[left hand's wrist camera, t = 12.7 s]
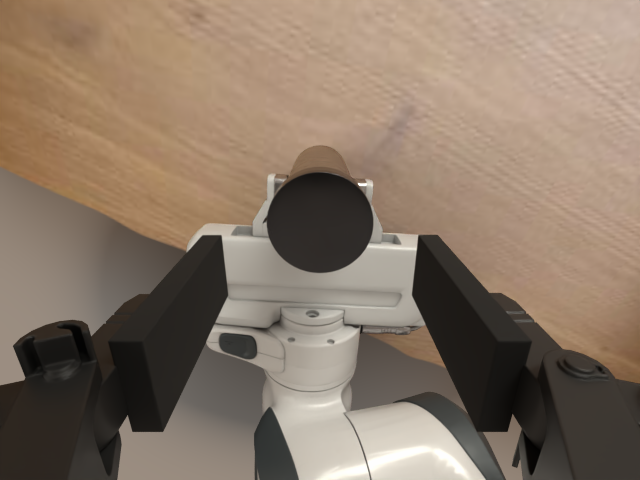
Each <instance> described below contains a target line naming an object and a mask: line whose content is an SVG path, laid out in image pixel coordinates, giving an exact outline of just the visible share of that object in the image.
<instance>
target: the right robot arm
mask: <svg viewBox="0 0 640 480" xmlns="http://www.w3.org/2000/svg"><path fill="white" fill-rule="evenodd" d="M288 177H289V175H283V174H269V175H268V179H267V199H266V200H265V202H264V203H263V205H262V207H261V208H260V210H259V212H258V213H257V215H256V217H255V218H254V220H253V225H234V224H217V223H208V224H205V225H204V226H203V227H201V228H200V229H199V230H198V231H197V232H196V233H195V234H194V235H193V237H192V238H191V239H190V241H189V242H188V245H187V252H188V251H189V250H190V248H191V247H192V246H193V245H194V244H195V243H196V242H197V241H198V239H199V238H200V237H201V236H202V235H222V243H223V251H224V260H225V269H226V278H227V287H228V297H227V299H226V301H225V303H224V305H223V307H222V310H221V312H220V314H219V316H218V318H217V320H216V322H215V324H214V326H213V328H212V330H211V333H210V335H209V337H208V339H207V341H206V343H207V345H208V347H209V348H210V349H212V350H214V351H216V352H219V353H223V354H226V355H229V356H232V357H236V358H239V359H242V360H244V361H247V362H250V363H252V364H255V365H257V366H259V367H261V368H263V369H264V372H265V375H266V380H265V383H264V387H263V392H262V409H263V416H262V418H261V420H260V422H259V424H258V426H257V429H256V431H255V433H254V446H255V480H506V479H505V477H504V475H503V473H502V470H501V468H500V466H499V464H498V462H497V459H496V457H495V455H494V453H493V451H492V449H491V447H490V445H489V443H488V441H487V439H486V437H485V435H484V434H483V432H477V431H476V429H475V427H474V425H473V423H472V421H471V418H470V416H469V414H467V413H466V412H465V411H464V410H463V409H462V408H460V407H459V406H458V405H456V404H455V403H453V402H452V401H450V400H449V399H447V398H445V397H444V396H442V395H440V394H437V393H434V392H425V393H422V394H419V395H415V396H412V397H408V398H405V399H402V400H398V401H395V402H393V403H392V404H387V405H381V406H376V407H371V408H365V409H359V410H354V411H351V404H352V390H351V385H350V381H351V379H352V377H353V375H354V372H355V369H356V363H357V355H358V346H359V336H360V334H361V333H370V334H383V333H392V334H396V335H407V334H410V331H414V330H417V329H419V328H421V327H422V326H425V325H426V324H425V322H424V320H423V318H422V316H421V314H420V312H419V310H418V307H417V305H416V303H415V301H414V299H413V297H412V287H413V278H414V269H415V260H416V251H417V243H418V235H417V234H398V233H382V232H383V228H382V226H381V224H380V222H379V220H378V217H377V215H376V213H375V211H374V209H373V206H372V204H371V203H372V194H373V182H372V180H371V179H354V180H355V181H356V182H357V183H358V184H359V185H360V187H361V188H362V190H363V191H364V193H365V195H366V197H367V199H368V201H369V203H370V205H371V209H372V212H373V233H372V236H371V239H370V242H369V244H368V246H367V247H366V249H365V251H364V252H363V253H362V254H361V256H360V257H359V258H358V259H357V260H355V261H354V262H353V263H351V264H350V265H348V266H346V267H345V268H342V269H340V270H337V271H333V272H328V273H312V272H306V271H303V270H300V269H298V268H296V267H294V266H292V265H290V264H289V263H287V262H286V261H285V260H284V259H283V258H282V257H281V256H280V255H279V254H278V253H277V252H276V250H275V249H274V247H273V245H272V244H271V241H270V239H269V236H268V232H267V213H268V209H269V206H270V204H271V201H272V199H273V197H274V195H275V193H276V191H277V190H278V188H279V187H280V185H281V184H282V183H283V182H284V181H285V180H286V179H287V178H288Z"/></svg>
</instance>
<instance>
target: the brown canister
mask: <svg viewBox="0 0 640 480" xmlns="http://www.w3.org/2000/svg"><path fill="white" fill-rule="evenodd" d="M311 167H329V168H334V169H337V170H340V171H342V172H344V173H346V174H347V175H349V176H350V174H349V171H348V169H347V167H346V164H345V162H344V160H343V158H342V157H341V155H340V154H339V153H338V152H337V151H335V150H334V149H332V148H330V147H327V146H313V147H310V148H308V149H306V150H305V151H303V152H302V153H301V154H300V155H299V156H298V158H297V159H296V162H295V164H294V166H293V169H292V171H291V173H290V176H291V175H293V174H294V173H296V172H298V171H300V170H303V169H306V168H311ZM290 176H289V177H290ZM350 177H351V176H350Z"/></svg>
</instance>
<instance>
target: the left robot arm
mask: <svg viewBox="0 0 640 480" xmlns="http://www.w3.org/2000/svg"><path fill="white" fill-rule="evenodd" d="M227 297H228V287H227V278H226V269H225V260H224V251H223V243H222V235H202V236H201V237H200V238H199V239H198V241H197V242H196V243H195V244H194V245H193V246H192V247H191V248H190V250H189V251H188V252H187V253H186V254H185V255H184V256H183V257H182V259H181V260H180V261H179V262H178V263H177V264H176V265H175V266H174V267H173V269H172V270H171V271H170V272H169V273H168V274H167V275H166V277H165V278H164V279H163V280H162V281H161V282H160V283H159V284H158V285H157V287H156V288H155V289H154V290H153V291H152V292H151V293H150V294H139V295H137V296H135V297H134V298H132V299H130V300H129V301H127V302H125V303H124V304H123V305H122V306H121V307H120V308H119V309H118V310H117V311H116V312H115V314H114V315H112V316H111V317H110V318H109V319H108V320H107V321H106V324H103V325H102V326H101V327H100V328H99V329H98V330H97V331H96V333H94V334H93V335H92V336H91V335H90V331H89V328H88V325H87V324H86V323H84V322H83V321H77V320H67V321H59V322H55V323H51V324H48V325H45V326H42V327H40V328H38V329H35V330H33V331H31V332H29V333H28V334H26V335H25V336H23V337H22V338H20V339H19V340H18V341H17V342H16V343H15V344H14V345H13V347H14V350H15V352H16V355H17V357H18V360H19V362H20V365H21V367H22V370H23V372H24V375H25V377H26V378H25V380H24V381H19V382H15V383H10V384H5V385H0V480H117V477H118V468H119V460H120V452H121V438H120V434H119V428H120V426H121V425H122V423H123V422H124V420H125V418H126V417H127V415H128V417H129V421H130V424H131V428H132V431H133V432H163V431H164V429H165V427H166V425H167V423H168V421H169V418H170V416H171V414H172V412H173V410H174V408H175V406H176V404H177V402H178V400H179V397H180V395H181V393H182V391H183V389H184V387H185V385H186V383H187V381H188V379H189V377H190V374H191V372H192V370H193V368H194V366H195V364H196V362H197V360H198V358H199V356H200V353H201V351H202V349H203V347H204V345H205V343H206V341H207V339H208V337H209V335H210V333H211V330H212V328H213V326H214V324H215V322H216V320H217V318H218V316H219V314H220V312H221V310H222V307H223V305H224V303H225V301H226V299H227ZM412 297H413V299H414V301H415V303H416V305H417V307H418V310H419V312H420V314H421V316H422V318H423V320H424V322H425V324H426V326H427V328H428V330H429V333H430V335H431V337H432V339H433V341H434V343H435V345H436V347H437V349H438V351H439V354H440V356H441V358H442V360H443V362H444V364H445V366H446V368H447V370H448V372H449V374H450V376H451V379H452V381H453V383H454V385H455V387H456V389H457V391H458V393H459V395H460V397H461V400H462V402H463V404H464V406H465V408H466V410H467V412H468V414H469V416H470V418H471V421H472V423H473V425H474V427H475V429H476V431H477V432H507V431H508V428H509V424H510V421H511V417H512V413H513V415H514V417H515V418H516V420H517V421H518V423H519V425H520V426H521V428H522V430H521V434H520V437H519V441H518V444H517V447H516V451H515V454H514V458H513V463H512V466H513V467H516V468H517V467H518V463H519V460H520V459H521V468H522V476H523V480H640V384H638V383H633V382H628V381H624V380H619V379H615V377H614V376H613V375H612V373H611V372H610V371H609V370H608V369H607V368H606V367H605V366H603V365H602V364H601V363H599V362H598V361H596V360H594V359H592V358H590V357H588V356H586V355H584V354H581V353H578V352H575V351H571V350H564V349H562V348H561V347H560V346H559V345H558V344H557V343H556V342H555V341H554V340H553V339H552V338H551V337H550V336H549V335H548V334H547V333H546V332H545V331H544V330H543V329H542V328H541V327H540V326H539V325H538V324H537V323H535V322H534V320H533V319H532V318H531V317H530V316H529V315H528V314H526V311H525V310H524V309H523V308H522V307H521V306H520V305H519V304H518V303H517V302H515V301H514V300H512V299H510V298H509V297H507V296H505V295H503V294H502V293H489V292H488V291H487V290H486V289H485V288H484V287H483V285H482V284H481V283H480V282H479V281H478V280H477V279H476V278H475V276H474V275H473V274H472V273H471V272H470V271H469V270H468V269H467V267H466V266H465V265H464V264H463V263H462V262H461V261H460V260H459V259H458V257H457V256H456V255H455V254H454V253H453V252H452V251H451V250H450V248H449V247H448V246H447V245H446V244H445V243H444V242H443V241H442V239H441V238H440V237H439V236H438V235H418V243H417V251H416V260H415V269H414V278H413V287H412Z"/></svg>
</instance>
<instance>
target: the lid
mask: <svg viewBox="0 0 640 480" xmlns="http://www.w3.org/2000/svg"><path fill="white" fill-rule="evenodd" d="M267 232H268V236H269V239H270V241H271V244H272V245H273V247H274V249H275V250H276V252H277V253H278V254H279V255H280V256H281V257H282V258H283V259H284V260H285V261H286V262H287V263H289V264H290V265H292V266H294V267H296V268H298V269H300V270H303V271H306V272H312V273H328V272H333V271H337V270H340V269H342V268H345V267H346V266H348V265H350V264H351V263H353V262H354V261H355V260H357V259H358V258H359V257H360V256H361V254H362V253H363V252H364V251H365V249H366V247H367V246H368V244H369V242H370V239H371V236H372V233H373V212H372V209H371V205H370V203H369V201H368V199H367V197H366V195H365V193H364V191H363V190H362V188H361V187H360V185H359V184H358V183H357V182H356V181H355V180H354V179H353V178H352V177H350V176H349V175H347V174H346V173H344V172H342V171H340V170H337V169H334V168H329V167H311V168H306V169H303V170H300V171H298V172H296V173H294V174H293V175H291V176H290V177H288V178H287V179H286V180H285V181H284V182H283V183H282V184H281V185H280V187H279V188H278V190H277V191H276V193H275V195H274V197H273V199H272V201H271V204H270V206H269V209H268V213H267Z"/></svg>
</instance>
